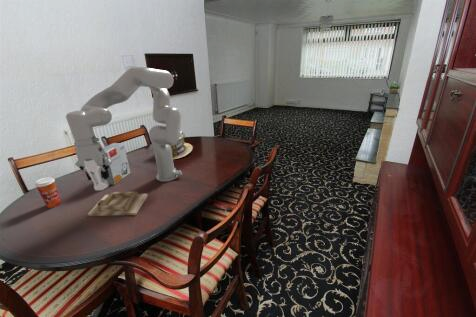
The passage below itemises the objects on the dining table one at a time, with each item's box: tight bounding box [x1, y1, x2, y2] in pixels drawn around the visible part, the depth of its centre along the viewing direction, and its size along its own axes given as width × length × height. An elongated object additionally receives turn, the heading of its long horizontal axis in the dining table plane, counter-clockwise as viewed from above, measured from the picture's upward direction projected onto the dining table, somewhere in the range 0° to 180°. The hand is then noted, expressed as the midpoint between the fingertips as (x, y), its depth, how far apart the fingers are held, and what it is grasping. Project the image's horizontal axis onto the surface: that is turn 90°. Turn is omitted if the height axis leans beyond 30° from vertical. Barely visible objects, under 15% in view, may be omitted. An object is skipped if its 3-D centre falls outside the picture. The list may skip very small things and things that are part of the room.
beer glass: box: [83, 160, 110, 191], centre depth 104 cm, size 7×7×15 cm
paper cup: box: [34, 176, 62, 209], centre depth 115 cm, size 8×8×14 cm
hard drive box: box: [103, 142, 131, 186], centre depth 138 cm, size 16×8×20 cm, turn 168°
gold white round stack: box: [170, 130, 194, 160], centre depth 172 cm, size 25×25×17 cm
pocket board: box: [87, 191, 148, 217], centre depth 116 cm, size 22×16×4 cm
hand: (98, 178), depth 105 cm, fingers closed on beer glass, 6 cm apart
